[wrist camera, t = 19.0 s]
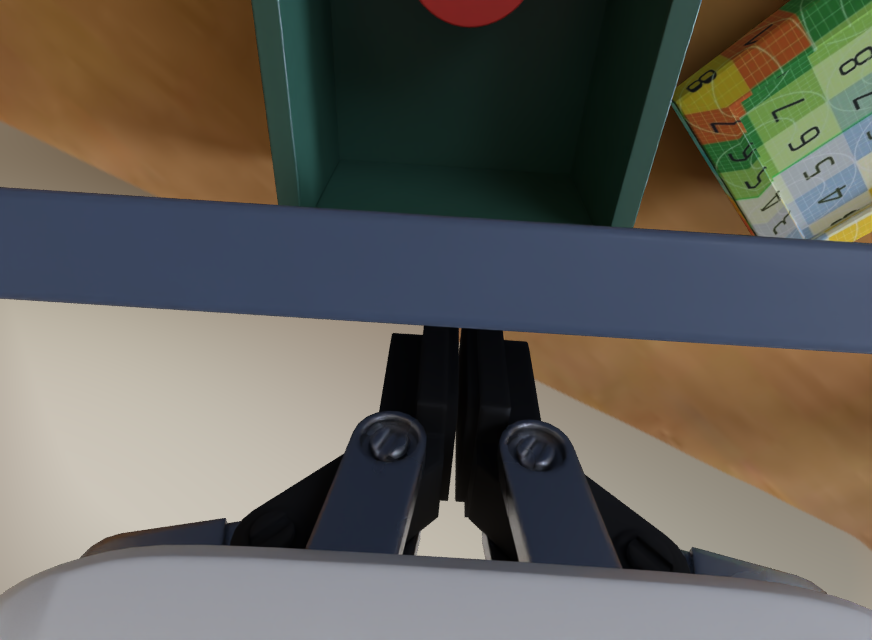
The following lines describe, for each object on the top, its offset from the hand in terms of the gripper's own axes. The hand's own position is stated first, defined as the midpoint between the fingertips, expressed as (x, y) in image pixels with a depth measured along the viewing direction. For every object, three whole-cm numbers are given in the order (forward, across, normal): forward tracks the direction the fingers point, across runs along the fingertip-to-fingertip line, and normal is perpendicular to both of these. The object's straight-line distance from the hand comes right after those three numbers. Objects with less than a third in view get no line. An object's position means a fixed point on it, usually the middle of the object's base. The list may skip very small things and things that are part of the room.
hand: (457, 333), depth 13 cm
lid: (+1, 0, -2) cm, 2 cm away
